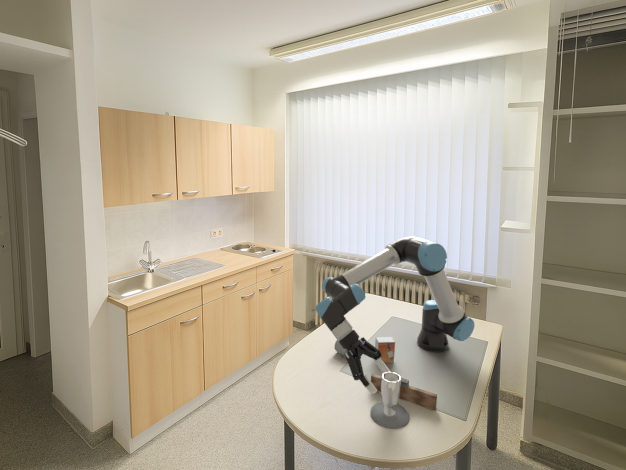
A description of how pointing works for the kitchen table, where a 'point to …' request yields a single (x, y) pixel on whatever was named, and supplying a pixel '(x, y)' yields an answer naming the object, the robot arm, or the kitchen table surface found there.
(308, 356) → the kitchen table surface
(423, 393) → the board
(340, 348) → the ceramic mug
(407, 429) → the kitchen table surface
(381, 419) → the round pad
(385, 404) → the beer glass
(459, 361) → the kitchen table surface
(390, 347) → the small box
